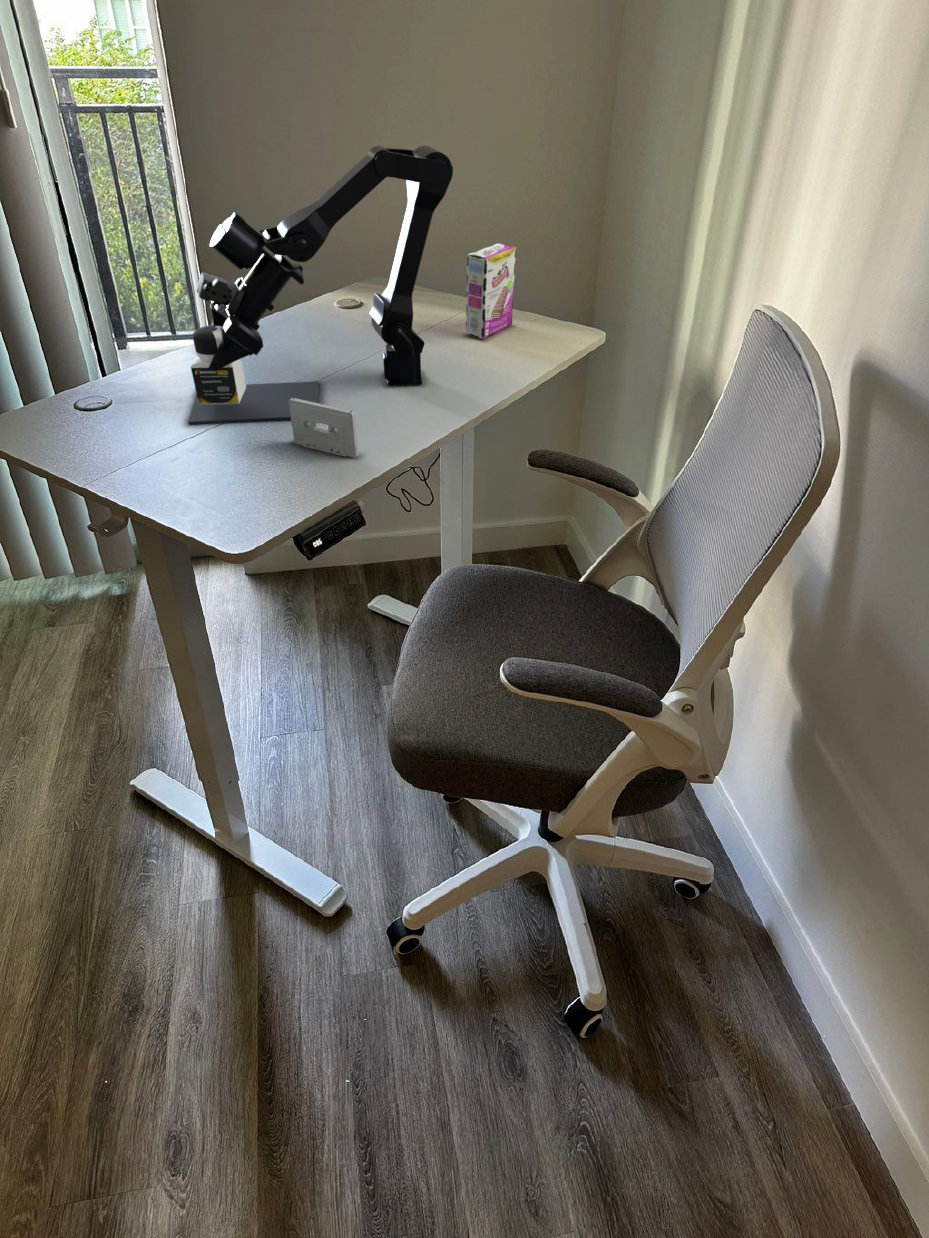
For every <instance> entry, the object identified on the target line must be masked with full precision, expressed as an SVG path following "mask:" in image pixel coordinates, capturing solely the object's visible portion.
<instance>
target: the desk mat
mask: <svg viewBox="0 0 929 1238" xmlns="http://www.w3.org/2000/svg"><path fill="white" fill-rule="evenodd" d="M292 398H296V399H300V400H305V401H310V402H314V403H319V404H320V402H319V401H320V399H319V398H320V381H319V380H318V381H317V380H316V381H315V380H314V381H296V382H295V381H294V382H293V381H292V382H271V383H252V384H248V383H247V384H246V389H245V391H244V394H243V396H242V398H241V401H240V403H239V404H211V405H200V404H199V402H198V398H197V393H195V397H194V400H193V404H192V408H191V411H190V414H189V418H188V421H187V424H188V426H195V425H196V426H198V425H215V424H237V423H239V424H241V423H258V422H260V423H261V422H277V421H278V422H279V421H291V414H290V406H289V400H290V399H292Z"/></svg>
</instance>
